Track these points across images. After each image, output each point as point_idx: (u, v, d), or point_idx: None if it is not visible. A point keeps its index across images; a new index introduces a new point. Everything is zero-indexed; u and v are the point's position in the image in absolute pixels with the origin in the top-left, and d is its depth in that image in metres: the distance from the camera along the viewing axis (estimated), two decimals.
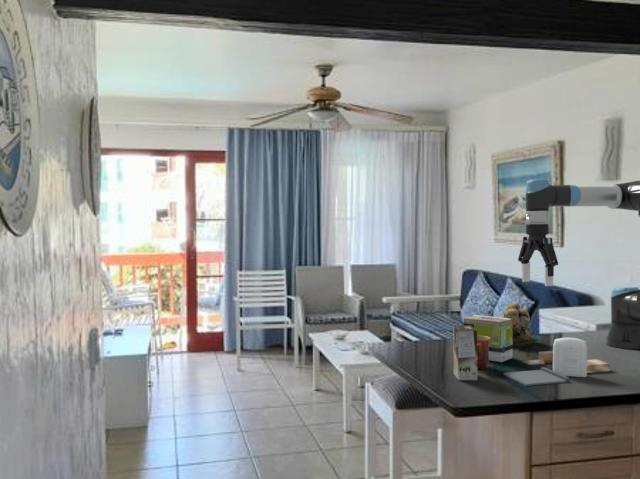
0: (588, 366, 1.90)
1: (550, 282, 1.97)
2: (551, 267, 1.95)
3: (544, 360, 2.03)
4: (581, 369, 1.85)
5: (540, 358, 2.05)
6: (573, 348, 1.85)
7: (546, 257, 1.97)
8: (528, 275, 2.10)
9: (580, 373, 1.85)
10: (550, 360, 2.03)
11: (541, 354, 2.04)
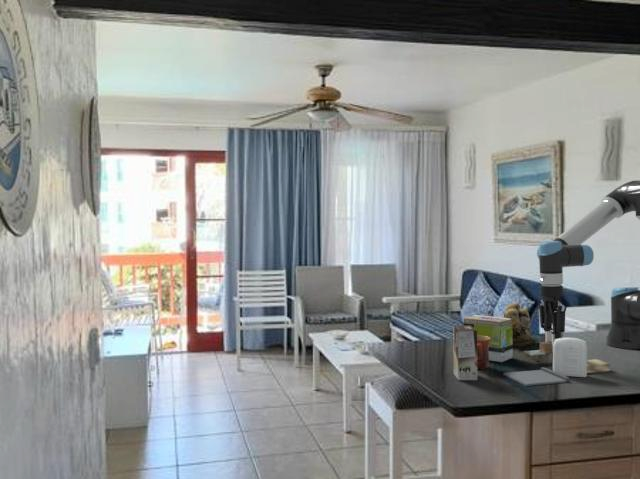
0: (588, 366, 1.90)
1: None
2: (558, 334, 2.01)
3: (545, 350, 2.03)
4: (581, 369, 1.85)
5: (541, 348, 2.05)
6: (573, 348, 1.85)
7: (555, 324, 2.02)
8: None
9: (580, 373, 1.85)
10: (550, 350, 2.03)
11: (542, 344, 2.04)
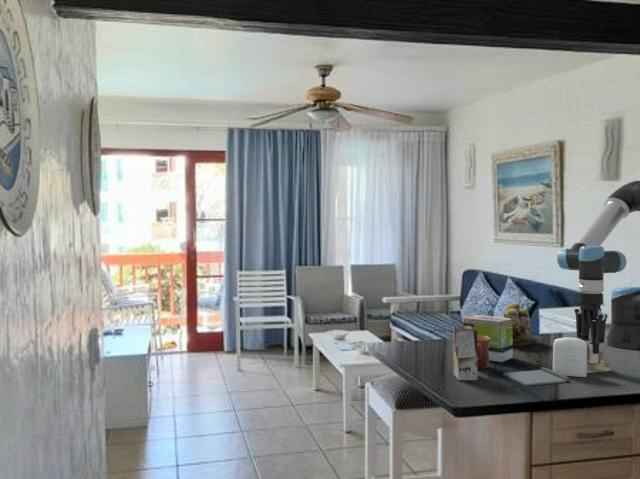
0: (588, 366, 1.90)
1: (595, 359, 1.91)
2: (596, 345, 1.90)
3: None
4: (581, 369, 1.85)
5: None
6: (573, 348, 1.85)
7: (594, 333, 1.90)
8: None
9: (580, 373, 1.85)
10: (588, 354, 1.92)
11: None
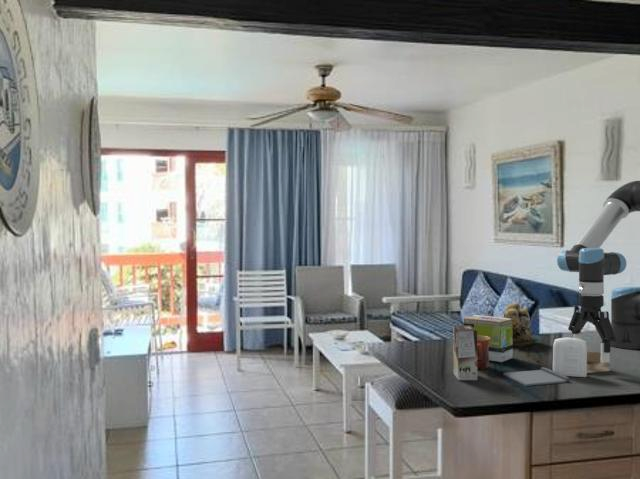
0: (588, 366, 1.90)
1: (606, 358, 1.87)
2: (608, 343, 1.85)
3: None
4: (581, 369, 1.85)
5: None
6: (573, 348, 1.85)
7: (602, 332, 1.87)
8: None
9: (580, 373, 1.85)
10: None
11: None
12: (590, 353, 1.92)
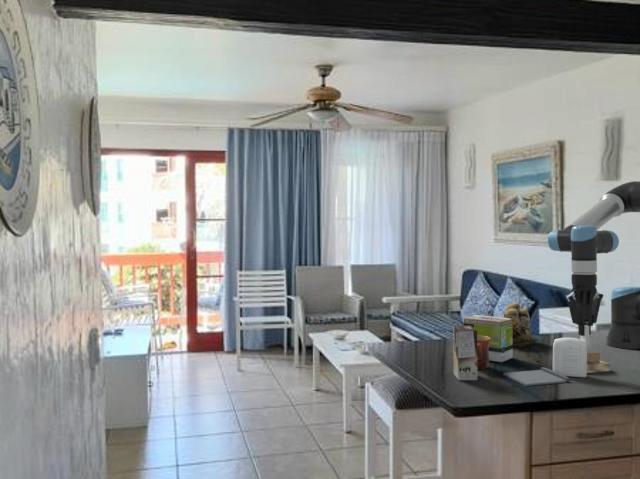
0: (588, 366, 1.90)
1: None
2: (579, 326, 1.88)
3: None
4: (581, 369, 1.84)
5: None
6: (573, 348, 1.85)
7: None
8: None
9: (580, 373, 1.84)
10: None
11: None
12: (589, 354, 1.92)
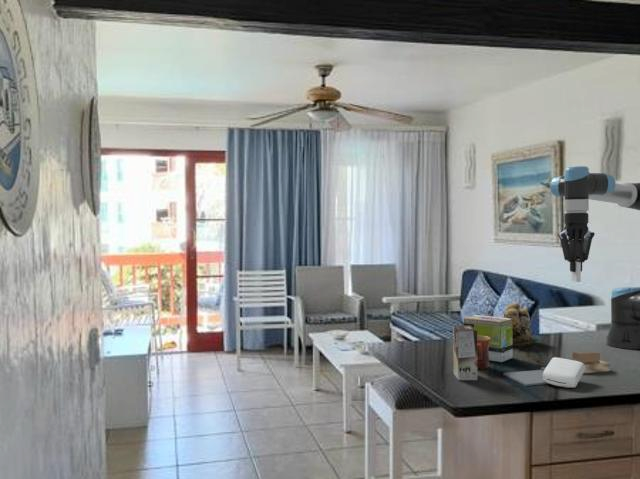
0: (588, 366, 1.90)
1: (574, 278, 1.97)
2: (570, 262, 1.97)
3: (578, 360, 1.92)
4: None
5: (574, 358, 1.93)
6: None
7: None
8: None
9: None
10: (584, 361, 1.92)
11: (575, 354, 1.93)
12: (589, 354, 1.92)
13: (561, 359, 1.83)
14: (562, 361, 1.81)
